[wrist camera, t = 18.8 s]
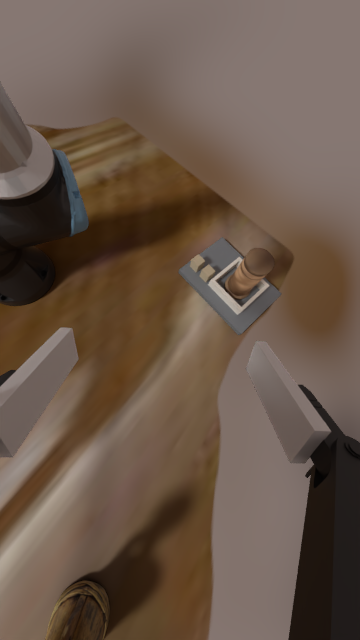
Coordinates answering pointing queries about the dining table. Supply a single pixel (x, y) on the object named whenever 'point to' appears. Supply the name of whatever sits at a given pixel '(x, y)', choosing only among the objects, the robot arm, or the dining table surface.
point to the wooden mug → (80, 613)
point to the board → (209, 282)
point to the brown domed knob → (249, 273)
